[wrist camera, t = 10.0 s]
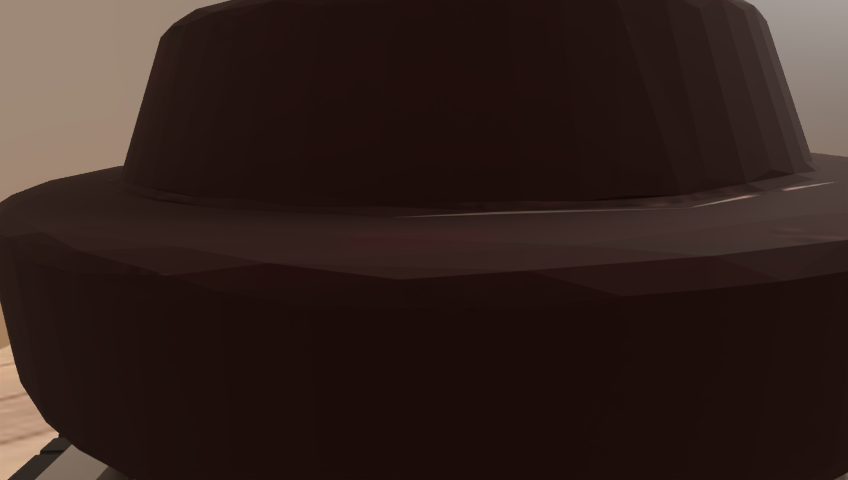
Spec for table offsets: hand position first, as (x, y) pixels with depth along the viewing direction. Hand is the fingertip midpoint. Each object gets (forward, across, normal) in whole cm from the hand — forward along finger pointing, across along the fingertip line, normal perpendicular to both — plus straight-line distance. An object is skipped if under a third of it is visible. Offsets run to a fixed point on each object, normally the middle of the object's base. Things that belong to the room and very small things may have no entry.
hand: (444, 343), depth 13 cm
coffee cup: (-5, 0, -9) cm, 10 cm away
